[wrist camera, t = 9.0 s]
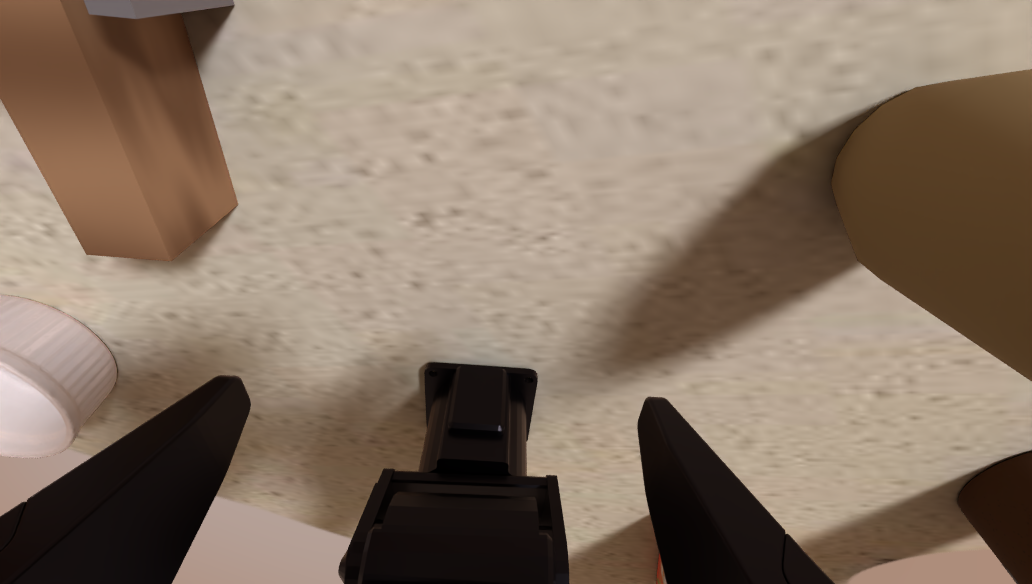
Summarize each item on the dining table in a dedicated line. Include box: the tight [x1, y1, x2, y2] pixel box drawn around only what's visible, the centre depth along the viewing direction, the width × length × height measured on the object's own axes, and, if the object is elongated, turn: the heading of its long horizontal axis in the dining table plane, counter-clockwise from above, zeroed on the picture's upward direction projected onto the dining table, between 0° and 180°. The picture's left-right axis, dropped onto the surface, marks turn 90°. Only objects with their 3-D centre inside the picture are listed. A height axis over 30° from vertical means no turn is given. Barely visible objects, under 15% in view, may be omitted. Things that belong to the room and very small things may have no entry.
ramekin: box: [0, 295, 117, 458], centre depth 24 cm, size 9×9×4 cm
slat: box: [0, 0, 238, 261], centre depth 15 cm, size 12×3×5 cm, turn 175°
